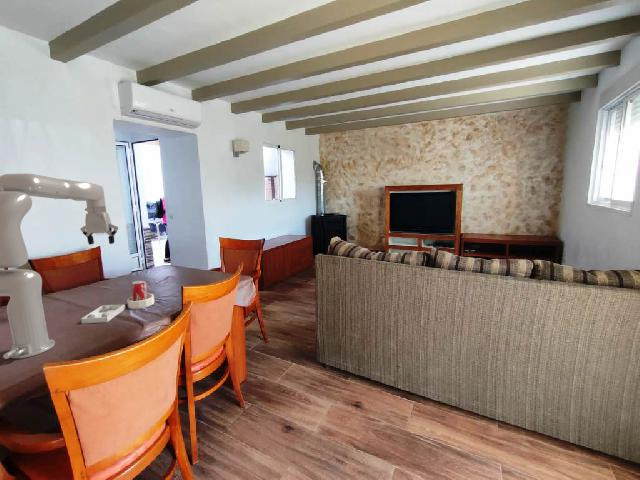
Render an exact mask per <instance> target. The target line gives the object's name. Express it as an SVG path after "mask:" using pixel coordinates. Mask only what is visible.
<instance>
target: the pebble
mask: <svg viewBox="0 0 640 480" xmlns="http://www.w3.org/2000/svg"><path fill="white" fill-rule="evenodd" d="M108 305H109V304H105V306H103V305H102V306H103V311H108V310H109V309H110V307H109V306H108Z"/></svg>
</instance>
